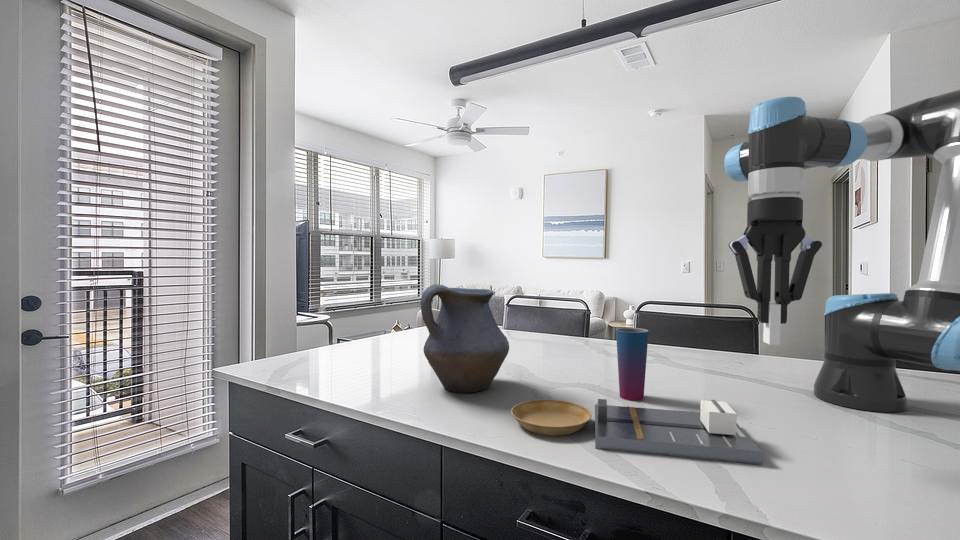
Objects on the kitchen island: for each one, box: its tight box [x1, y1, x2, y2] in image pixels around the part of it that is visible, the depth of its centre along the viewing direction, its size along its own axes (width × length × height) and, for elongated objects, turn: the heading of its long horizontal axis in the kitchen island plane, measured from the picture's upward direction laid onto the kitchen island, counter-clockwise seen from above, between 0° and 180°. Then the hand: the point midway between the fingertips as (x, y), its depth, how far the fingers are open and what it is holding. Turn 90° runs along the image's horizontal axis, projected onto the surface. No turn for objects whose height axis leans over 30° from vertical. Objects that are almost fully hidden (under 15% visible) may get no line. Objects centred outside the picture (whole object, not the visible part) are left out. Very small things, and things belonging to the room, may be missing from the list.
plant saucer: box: [510, 398, 592, 437], centre depth 82 cm, size 15×15×3 cm
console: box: [594, 398, 763, 466], centre depth 77 cm, size 24×16×5 cm, turn 76°
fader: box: [700, 399, 738, 435], centre depth 75 cm, size 4×6×4 cm, turn 166°
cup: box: [615, 327, 649, 402], centre depth 98 cm, size 7×7×15 cm
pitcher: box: [420, 283, 510, 394], centre depth 105 cm, size 21×22×25 cm
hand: (771, 343), depth 72 cm, fingers closed
